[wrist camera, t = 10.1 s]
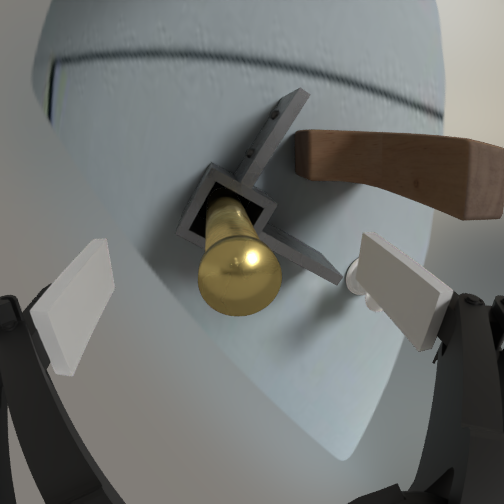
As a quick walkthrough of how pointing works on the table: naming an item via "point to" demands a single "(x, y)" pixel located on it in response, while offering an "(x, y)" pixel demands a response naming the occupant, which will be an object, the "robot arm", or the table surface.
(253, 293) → the hinge pin
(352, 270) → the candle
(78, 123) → the table surface
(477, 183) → the wooden block
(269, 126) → the square tube bracket
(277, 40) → the table surface
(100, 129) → the table surface
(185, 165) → the table surface
